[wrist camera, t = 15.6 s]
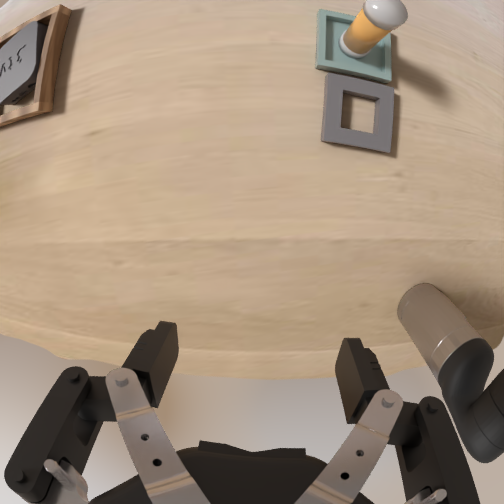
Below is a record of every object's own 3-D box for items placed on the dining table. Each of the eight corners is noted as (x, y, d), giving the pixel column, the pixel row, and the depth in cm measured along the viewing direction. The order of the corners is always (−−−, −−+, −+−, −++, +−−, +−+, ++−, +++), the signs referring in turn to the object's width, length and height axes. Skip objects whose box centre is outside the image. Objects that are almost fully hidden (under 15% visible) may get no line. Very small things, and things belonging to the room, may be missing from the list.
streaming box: (53, 21, 29) (38, 15, 24) (53, 76, 34) (35, 73, 29) (10, 56, 31) (-5, 53, 26) (9, 109, 35) (-7, 109, 30)
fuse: (367, 37, 30) (405, -1, 17) (367, 62, 31) (409, 29, 18) (338, 30, 30) (367, -14, 17) (338, 55, 31) (369, 16, 18)
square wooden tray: (71, 10, 28) (60, 4, 24) (52, 111, 36) (38, 110, 32) (6, 43, 29) (-5, 40, 25) (-8, 129, 36) (-20, 131, 33)
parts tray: (385, 30, 29) (389, 26, 27) (386, 83, 33) (391, 81, 31) (317, 14, 30) (319, 8, 28) (315, 68, 33) (317, 64, 31)
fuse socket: (388, 90, 33) (394, 88, 31) (384, 152, 37) (390, 152, 35) (325, 76, 33) (328, 72, 32) (320, 141, 37) (323, 140, 35)
